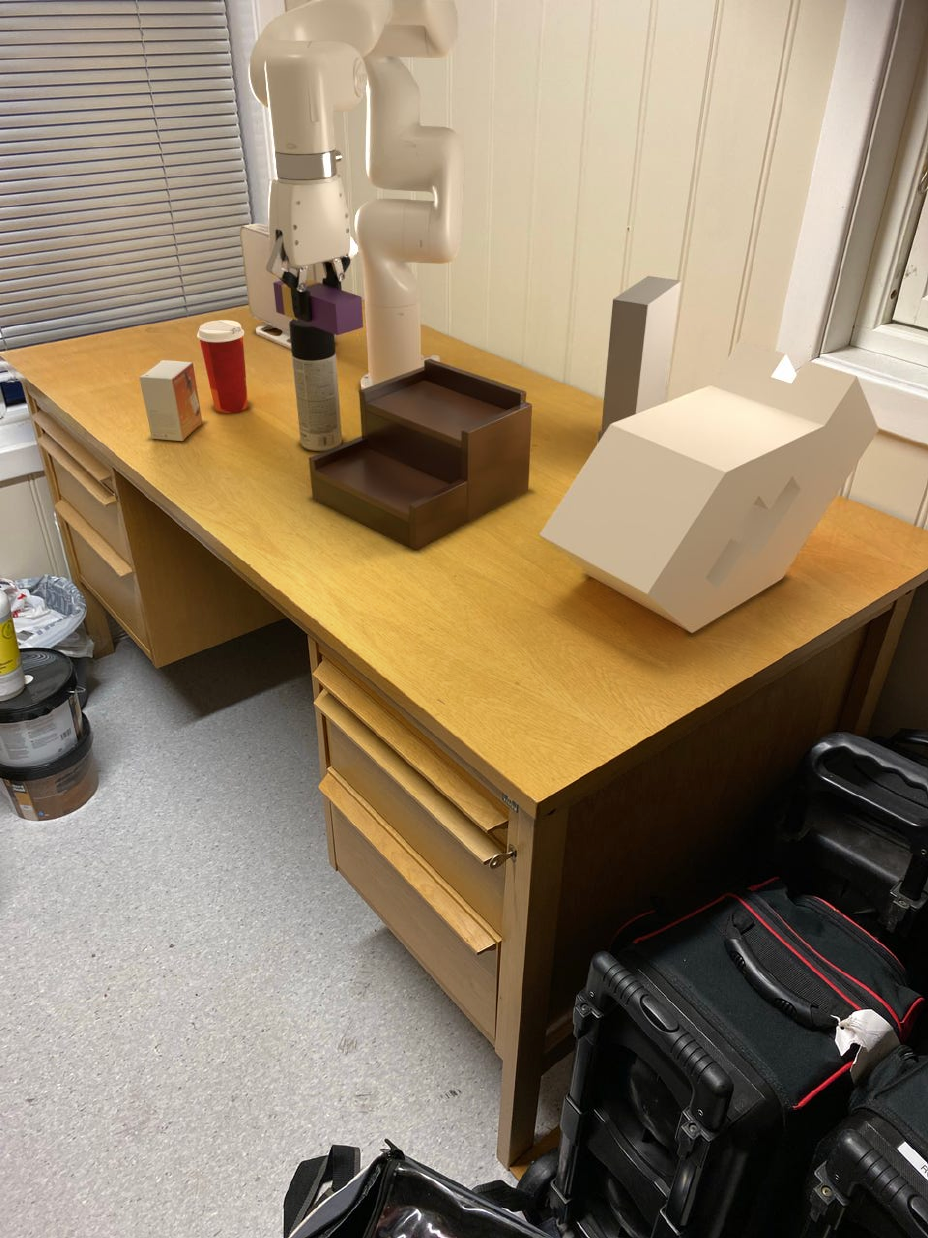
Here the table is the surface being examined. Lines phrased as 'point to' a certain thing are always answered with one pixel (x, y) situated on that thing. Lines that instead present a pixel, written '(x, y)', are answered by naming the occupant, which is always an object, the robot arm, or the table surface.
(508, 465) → the step rack
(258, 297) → the network device
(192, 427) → the small box
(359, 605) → the table surface
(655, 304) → the cassette tape recorder
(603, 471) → the cream angular block
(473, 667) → the table surface
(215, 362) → the paper cup
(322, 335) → the spray can
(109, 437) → the table surface
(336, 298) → the purple banded block
